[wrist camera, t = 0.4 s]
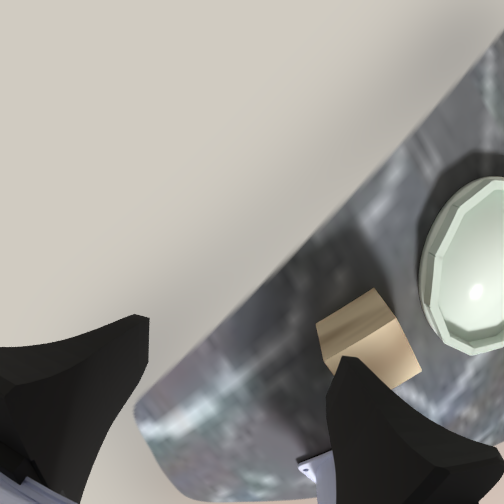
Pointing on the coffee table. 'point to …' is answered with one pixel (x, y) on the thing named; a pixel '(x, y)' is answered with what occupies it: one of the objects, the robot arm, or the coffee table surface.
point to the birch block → (368, 339)
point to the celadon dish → (466, 268)
